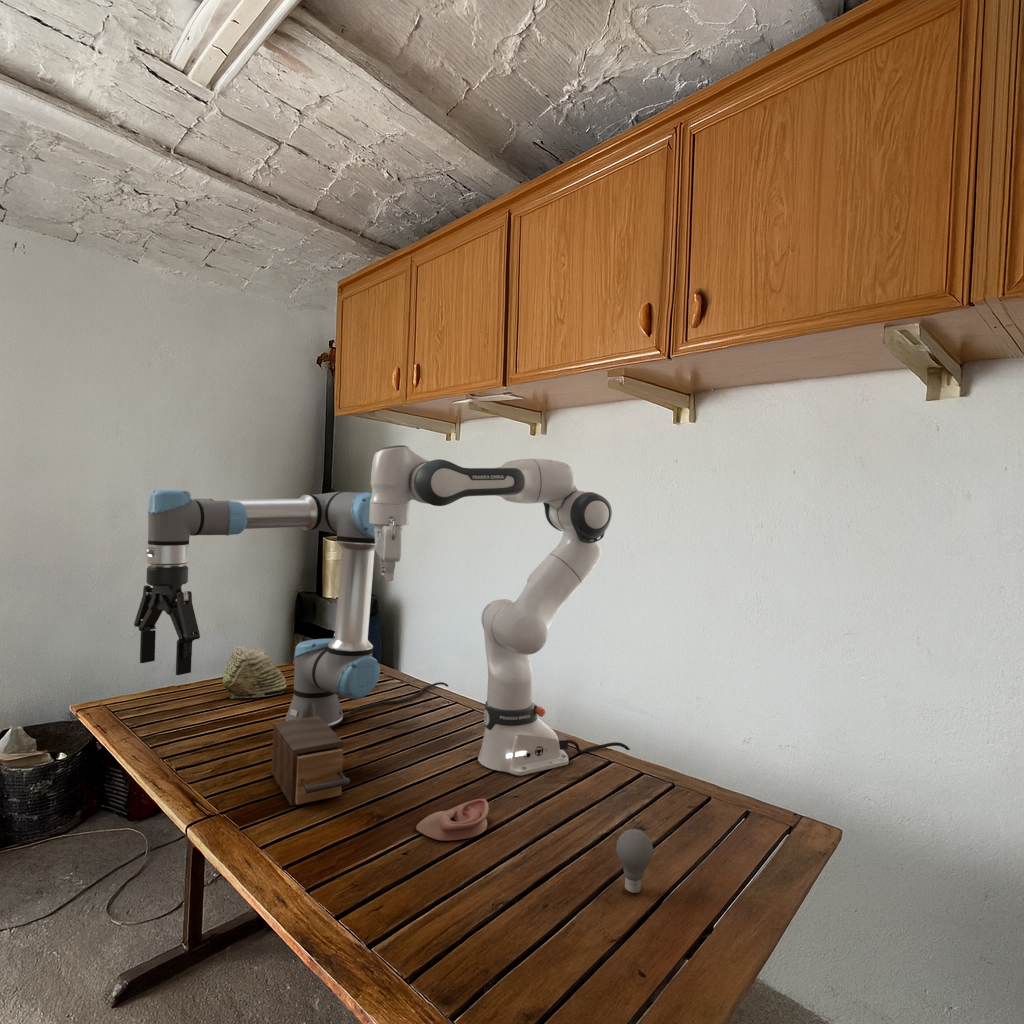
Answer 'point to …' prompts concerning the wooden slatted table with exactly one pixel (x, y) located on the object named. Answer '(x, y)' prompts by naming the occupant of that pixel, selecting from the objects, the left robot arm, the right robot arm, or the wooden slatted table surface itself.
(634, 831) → the light bulb
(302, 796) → the drawer
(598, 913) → the wooden slatted table surface
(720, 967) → the wooden slatted table surface
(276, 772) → the cabinet
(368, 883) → the wooden slatted table surface
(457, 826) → the anatomical model
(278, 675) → the fossil
